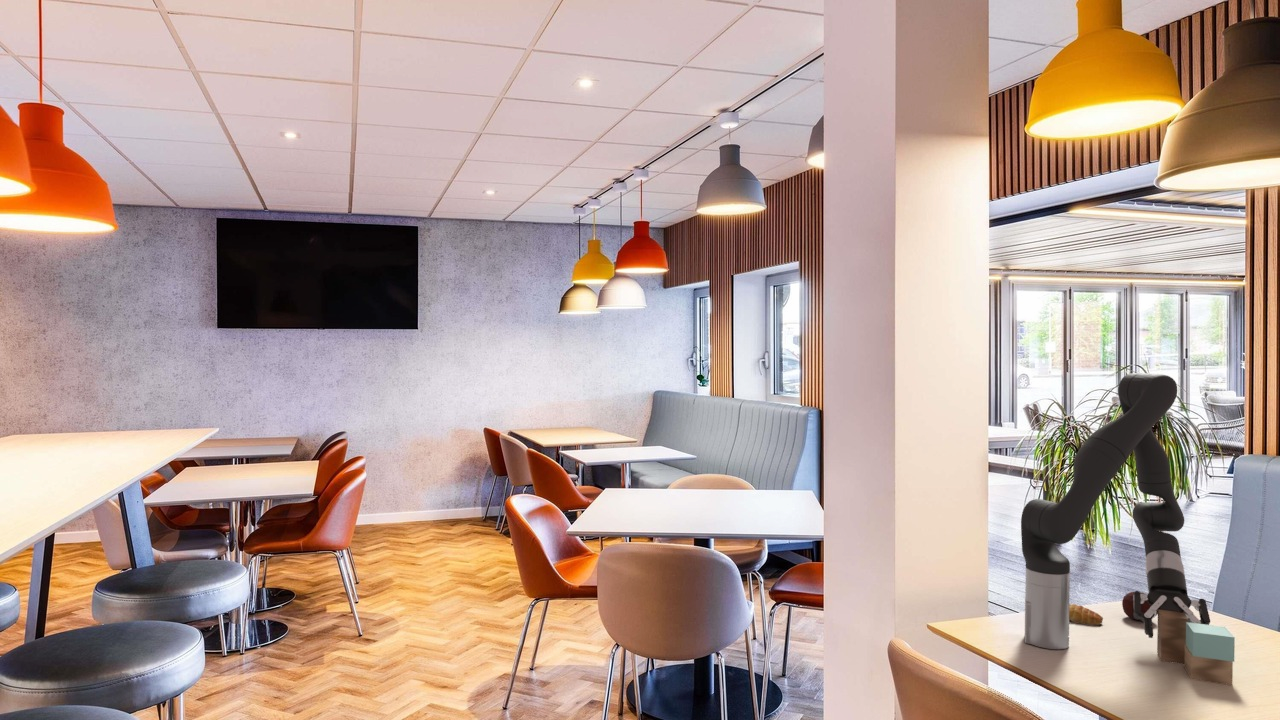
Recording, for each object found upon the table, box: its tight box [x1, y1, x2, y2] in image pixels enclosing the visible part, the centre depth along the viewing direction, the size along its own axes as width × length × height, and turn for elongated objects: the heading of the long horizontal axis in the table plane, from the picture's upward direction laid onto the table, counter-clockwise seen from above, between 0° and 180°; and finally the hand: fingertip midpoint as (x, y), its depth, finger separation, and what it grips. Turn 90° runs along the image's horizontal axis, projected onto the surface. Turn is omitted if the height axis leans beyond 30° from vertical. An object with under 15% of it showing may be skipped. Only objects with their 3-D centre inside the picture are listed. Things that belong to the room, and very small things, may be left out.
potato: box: [1121, 591, 1151, 622], centre depth 201 cm, size 7×8×7 cm
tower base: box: [1183, 645, 1234, 686], centre depth 165 cm, size 7×7×5 cm
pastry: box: [1069, 603, 1104, 626], centre depth 200 cm, size 9×7×4 cm
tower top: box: [1186, 622, 1236, 663], centre depth 165 cm, size 7×7×5 cm
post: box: [1156, 609, 1189, 665], centre depth 174 cm, size 5×5×10 cm
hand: (1173, 639), depth 173 cm, fingers open, 8 cm apart
